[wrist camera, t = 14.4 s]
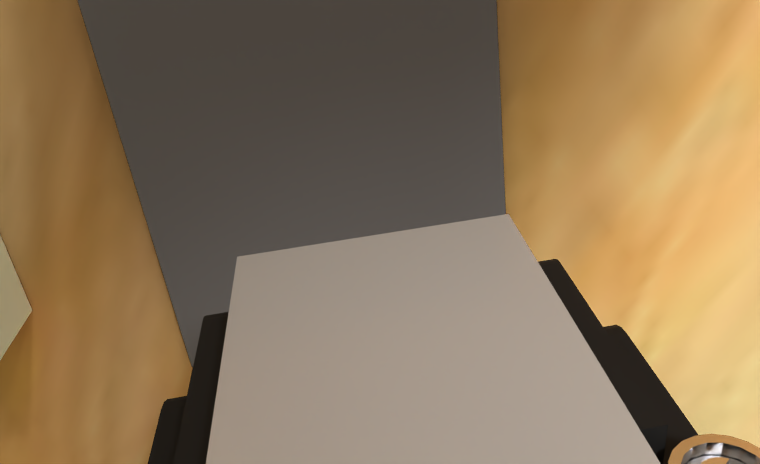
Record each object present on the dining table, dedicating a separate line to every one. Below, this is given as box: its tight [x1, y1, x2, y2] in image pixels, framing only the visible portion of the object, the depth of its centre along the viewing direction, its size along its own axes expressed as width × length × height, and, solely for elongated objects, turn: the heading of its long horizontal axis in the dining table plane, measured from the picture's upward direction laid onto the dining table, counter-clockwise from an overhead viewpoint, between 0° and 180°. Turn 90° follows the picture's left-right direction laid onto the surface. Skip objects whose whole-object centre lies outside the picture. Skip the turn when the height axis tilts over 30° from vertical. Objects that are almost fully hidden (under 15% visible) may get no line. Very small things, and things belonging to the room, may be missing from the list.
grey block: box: [206, 214, 660, 464], centre depth 10 cm, size 4×4×6 cm
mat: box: [78, 0, 506, 367], centre depth 18 cm, size 10×15×1 cm, turn 7°
